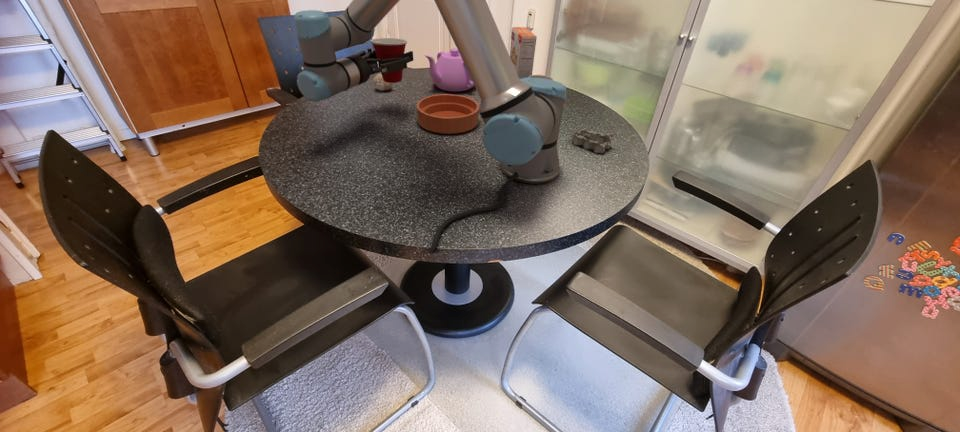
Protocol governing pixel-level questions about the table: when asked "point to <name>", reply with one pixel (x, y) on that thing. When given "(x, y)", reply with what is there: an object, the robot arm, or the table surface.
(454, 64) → the teapot
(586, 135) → the egg carton
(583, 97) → the table surface
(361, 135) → the table surface
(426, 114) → the bowl
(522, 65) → the cracker box
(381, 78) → the garlic bulb
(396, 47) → the plastic cup
